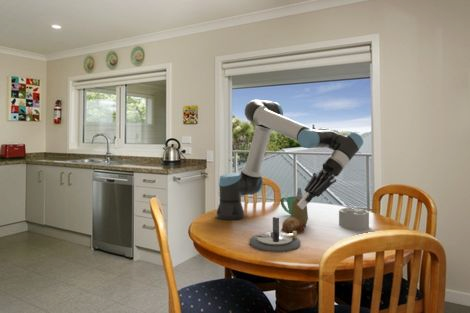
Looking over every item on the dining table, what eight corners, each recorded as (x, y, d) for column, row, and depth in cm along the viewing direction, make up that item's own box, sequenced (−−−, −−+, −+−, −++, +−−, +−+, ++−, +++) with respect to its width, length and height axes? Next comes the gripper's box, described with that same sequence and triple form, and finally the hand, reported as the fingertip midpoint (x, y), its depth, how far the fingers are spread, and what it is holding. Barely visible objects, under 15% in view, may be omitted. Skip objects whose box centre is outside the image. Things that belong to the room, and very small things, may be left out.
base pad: (242, 248, 116) (242, 237, 116) (257, 233, 135) (257, 224, 134) (295, 254, 109) (295, 243, 109) (303, 238, 127) (303, 228, 127)
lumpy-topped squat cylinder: (361, 231, 136) (361, 212, 136) (334, 226, 146) (334, 208, 145) (371, 226, 144) (371, 208, 143) (344, 221, 153) (344, 204, 153)
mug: (308, 216, 165) (308, 197, 165) (298, 219, 158) (298, 200, 158) (286, 212, 176) (286, 194, 175) (275, 215, 169) (275, 197, 169)
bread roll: (283, 235, 143) (276, 220, 143) (302, 225, 144) (295, 210, 143) (288, 242, 134) (281, 226, 133) (309, 231, 134) (301, 215, 134)
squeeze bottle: (308, 223, 150) (308, 187, 150) (307, 227, 143) (307, 189, 142) (292, 222, 153) (292, 186, 152) (289, 226, 145) (289, 188, 145)
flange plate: (250, 237, 125) (250, 212, 125) (284, 232, 132) (284, 208, 131) (268, 247, 112) (267, 220, 112) (303, 241, 119) (303, 215, 118)
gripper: (351, 171, 121) (315, 216, 116) (330, 168, 133) (296, 209, 128) (340, 158, 119) (303, 204, 114) (320, 156, 131) (285, 197, 126)
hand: (299, 207), depth 121 cm, fingers closed
